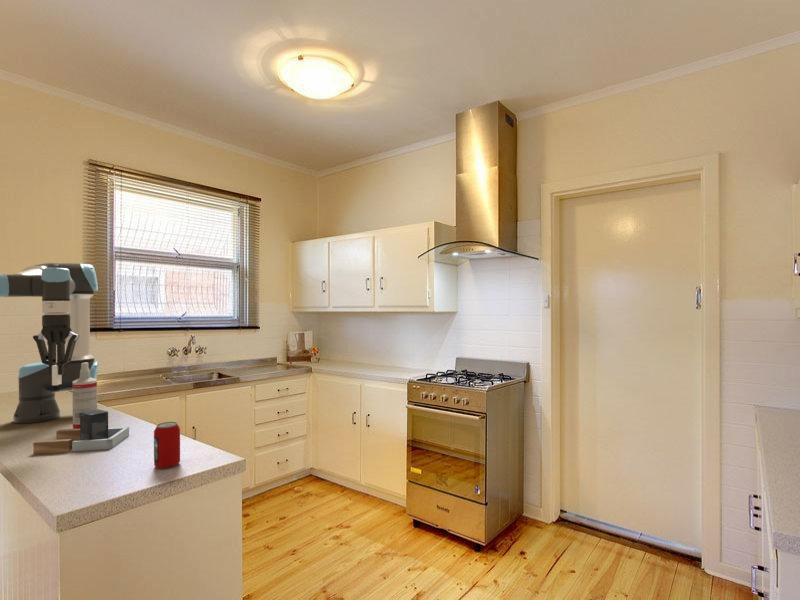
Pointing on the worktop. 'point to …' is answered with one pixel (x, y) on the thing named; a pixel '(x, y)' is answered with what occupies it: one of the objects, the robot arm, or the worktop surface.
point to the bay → (103, 440)
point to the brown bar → (57, 442)
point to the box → (93, 425)
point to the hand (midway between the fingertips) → (56, 384)
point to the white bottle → (83, 394)
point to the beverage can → (166, 445)
